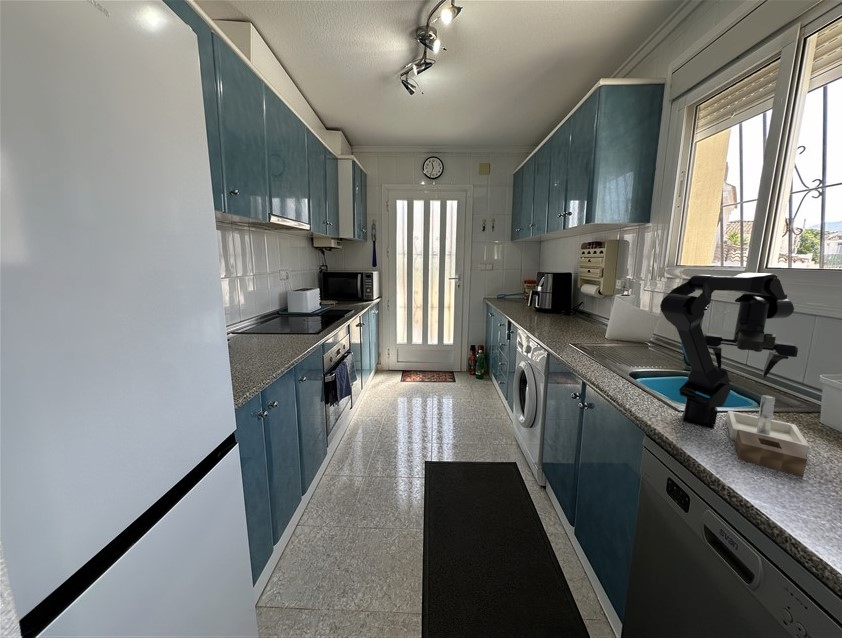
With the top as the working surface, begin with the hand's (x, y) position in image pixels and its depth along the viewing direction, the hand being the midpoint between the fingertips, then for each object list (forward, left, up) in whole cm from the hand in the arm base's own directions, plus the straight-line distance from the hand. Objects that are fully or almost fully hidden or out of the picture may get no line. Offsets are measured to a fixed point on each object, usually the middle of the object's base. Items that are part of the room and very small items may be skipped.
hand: (740, 373), depth 96 cm
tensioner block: (+4, -24, -13) cm, 27 cm away
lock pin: (+5, -11, -12) cm, 17 cm away
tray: (+5, -11, -13) cm, 18 cm away
